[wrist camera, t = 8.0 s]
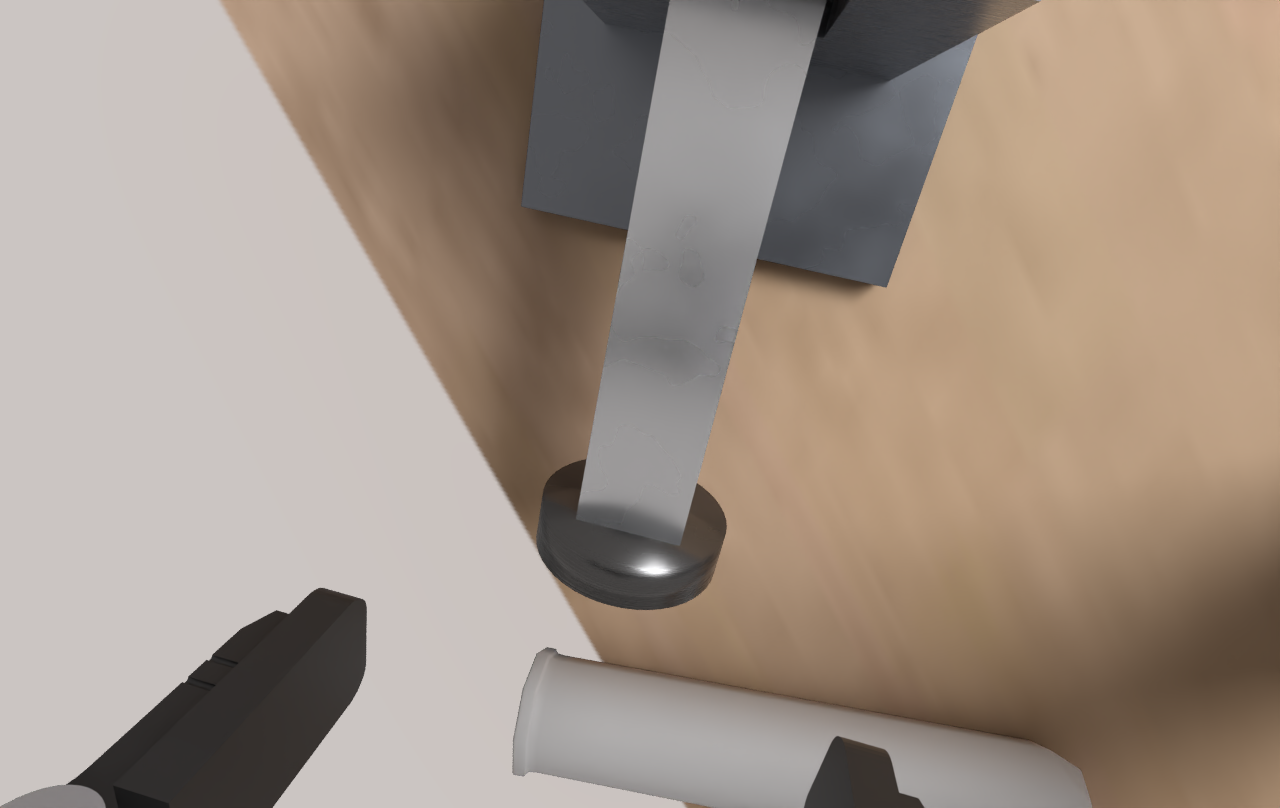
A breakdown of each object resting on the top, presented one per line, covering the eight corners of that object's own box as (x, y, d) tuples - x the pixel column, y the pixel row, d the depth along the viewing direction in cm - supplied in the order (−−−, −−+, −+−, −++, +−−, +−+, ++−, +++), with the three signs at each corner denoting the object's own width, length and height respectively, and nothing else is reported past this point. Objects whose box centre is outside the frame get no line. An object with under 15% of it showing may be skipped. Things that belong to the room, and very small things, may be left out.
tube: (1139, 796, 24) (520, 681, 26) (1114, 923, 24) (505, 799, 26) (1059, 718, 29) (550, 628, 31) (1039, 823, 29) (538, 727, 32)
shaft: (904, -122, 14) (999, -283, 9) (717, 517, 21) (711, 631, 16) (670, -163, 14) (634, -342, 9) (563, 479, 22) (509, 578, 16)
